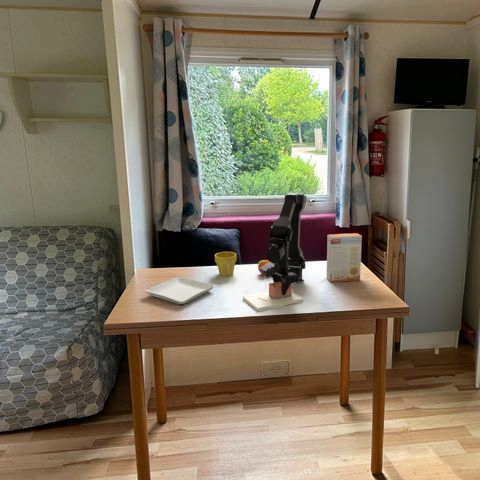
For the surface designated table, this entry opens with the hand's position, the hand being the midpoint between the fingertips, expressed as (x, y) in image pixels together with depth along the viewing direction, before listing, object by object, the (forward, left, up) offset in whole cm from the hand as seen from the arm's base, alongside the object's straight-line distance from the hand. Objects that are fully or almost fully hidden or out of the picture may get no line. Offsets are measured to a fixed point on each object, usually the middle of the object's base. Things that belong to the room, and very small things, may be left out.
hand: (280, 292), depth 160 cm
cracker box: (-36, -7, -3) cm, 37 cm away
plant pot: (+8, -39, -3) cm, 39 cm away
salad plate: (+35, -24, -3) cm, 42 cm away
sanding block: (0, 0, -1) cm, 1 cm away
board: (+4, 0, -2) cm, 4 cm away
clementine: (-8, -30, -3) cm, 31 cm away
